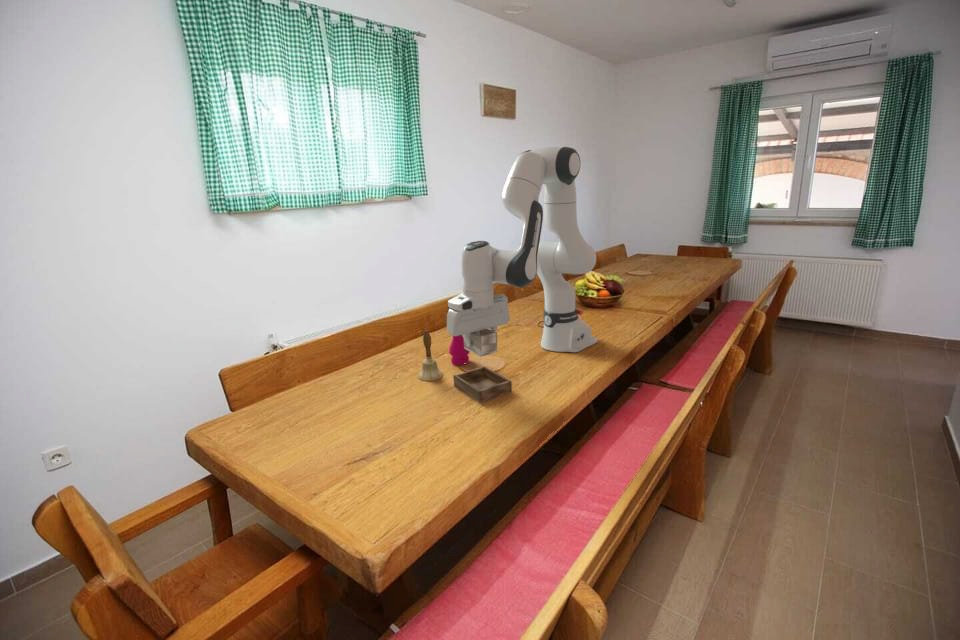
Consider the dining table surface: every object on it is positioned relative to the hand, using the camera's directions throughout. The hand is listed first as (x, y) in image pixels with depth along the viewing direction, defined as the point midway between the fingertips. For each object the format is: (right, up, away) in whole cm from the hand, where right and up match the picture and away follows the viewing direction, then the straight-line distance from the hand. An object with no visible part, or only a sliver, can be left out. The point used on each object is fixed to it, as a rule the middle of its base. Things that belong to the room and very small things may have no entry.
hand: (480, 343), depth 139 cm
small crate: (0, -2, +1) cm, 2 cm away
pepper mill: (-7, -8, +26) cm, 28 cm away
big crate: (+1, -14, +4) cm, 15 cm away
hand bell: (-17, -12, +16) cm, 26 cm away
